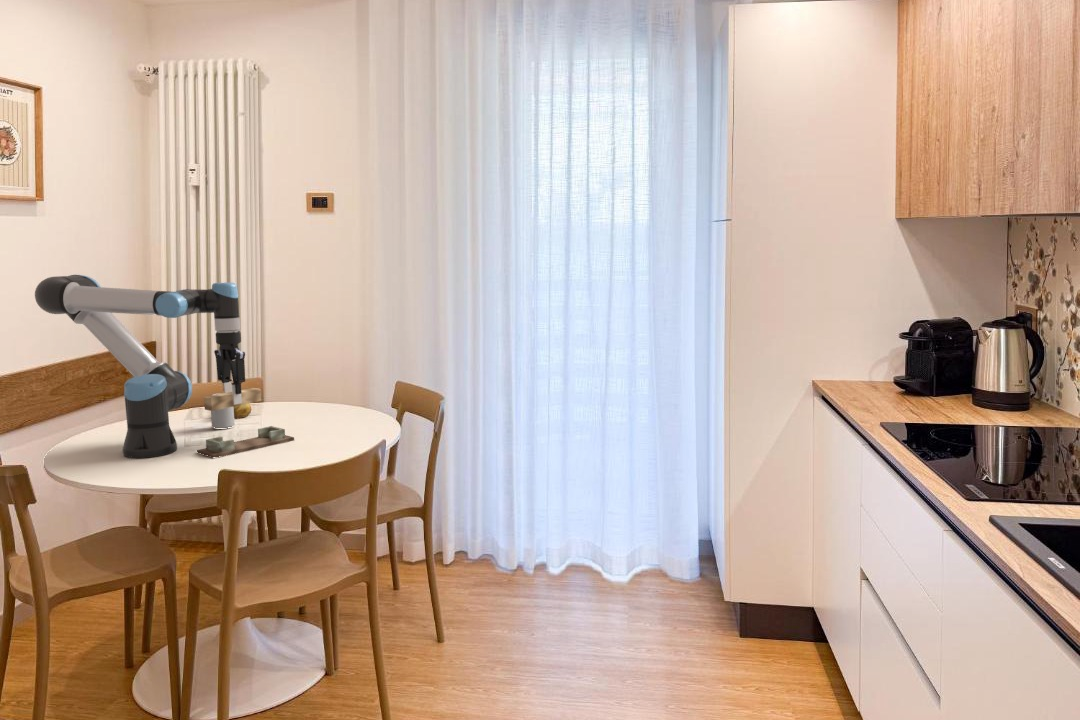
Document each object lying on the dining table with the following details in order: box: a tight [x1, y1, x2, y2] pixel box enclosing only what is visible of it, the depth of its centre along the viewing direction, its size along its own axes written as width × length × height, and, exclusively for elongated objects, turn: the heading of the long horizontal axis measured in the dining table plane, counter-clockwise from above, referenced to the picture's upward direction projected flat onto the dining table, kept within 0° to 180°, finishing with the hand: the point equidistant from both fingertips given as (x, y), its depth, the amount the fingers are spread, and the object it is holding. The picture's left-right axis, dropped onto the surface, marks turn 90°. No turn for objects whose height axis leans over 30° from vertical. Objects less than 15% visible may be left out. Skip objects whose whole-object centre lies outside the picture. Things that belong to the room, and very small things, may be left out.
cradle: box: [196, 425, 295, 458], centre depth 257 cm, size 28×10×4 cm, turn 141°
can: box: [210, 392, 235, 428], centre depth 283 cm, size 8×8×12 cm
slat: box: [203, 387, 262, 412], centre depth 262 cm, size 18×4×4 cm, turn 144°
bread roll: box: [234, 403, 252, 419], centre depth 303 cm, size 13×10×8 cm
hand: (233, 402), depth 262 cm, fingers closed on slat, 4 cm apart
